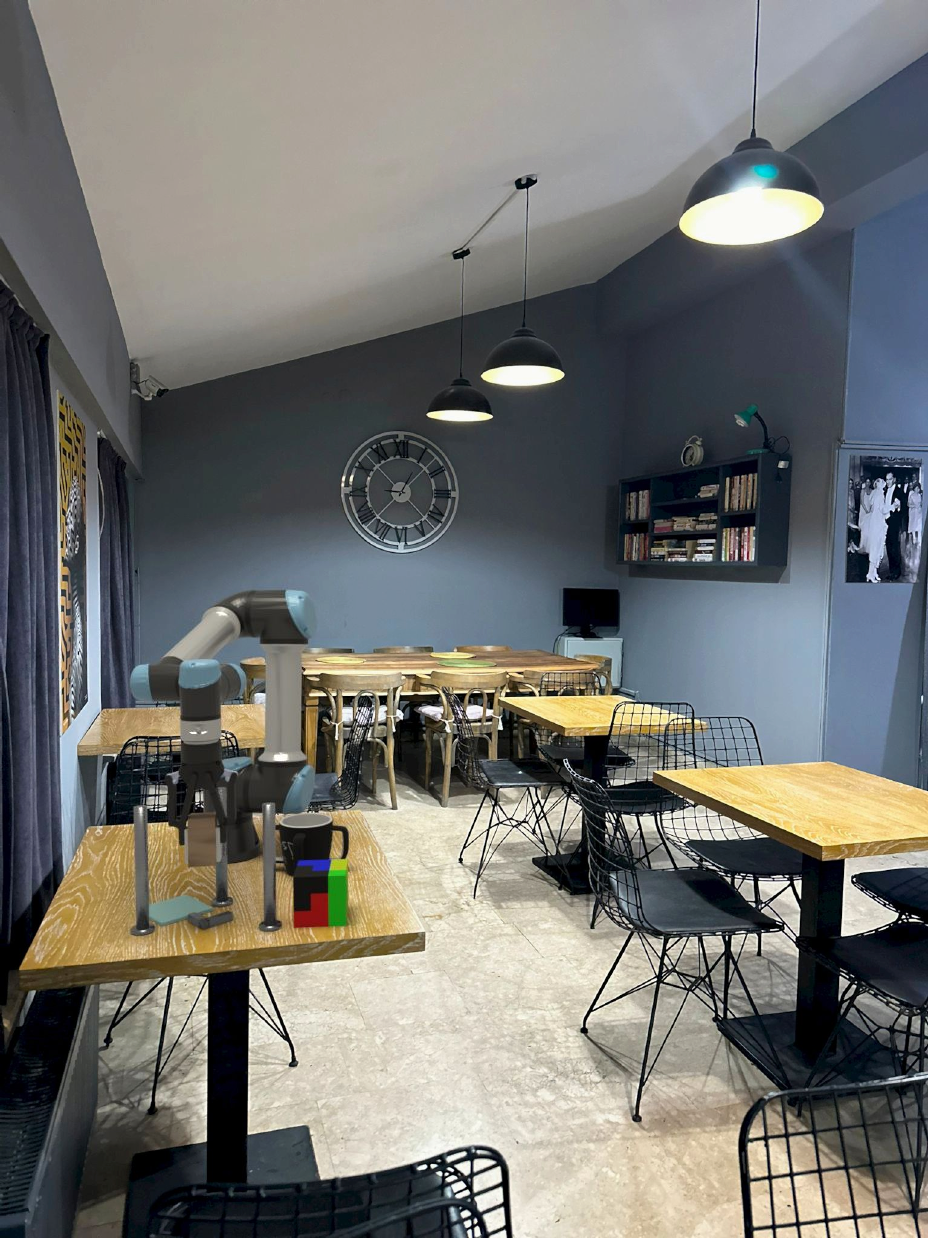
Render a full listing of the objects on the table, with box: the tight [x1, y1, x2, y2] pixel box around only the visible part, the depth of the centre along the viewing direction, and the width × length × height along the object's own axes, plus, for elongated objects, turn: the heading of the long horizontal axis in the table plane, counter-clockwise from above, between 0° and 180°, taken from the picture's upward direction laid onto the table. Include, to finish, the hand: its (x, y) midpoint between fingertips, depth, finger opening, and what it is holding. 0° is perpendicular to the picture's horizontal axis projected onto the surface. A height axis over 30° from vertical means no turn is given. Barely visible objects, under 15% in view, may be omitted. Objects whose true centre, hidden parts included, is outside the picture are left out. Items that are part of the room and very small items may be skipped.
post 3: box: [258, 803, 283, 933], centre depth 167 cm, size 4×4×24 cm
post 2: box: [210, 787, 234, 908], centre depth 180 cm, size 4×4×24 cm
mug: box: [275, 812, 350, 876], centre depth 200 cm, size 16×16×12 cm
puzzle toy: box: [292, 858, 350, 929], centre depth 172 cm, size 10×10×10 cm
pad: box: [149, 894, 214, 927], centre depth 176 cm, size 11×11×1 cm
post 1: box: [130, 804, 156, 937], centre depth 165 cm, size 4×4×24 cm
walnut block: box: [186, 812, 218, 868], centre depth 167 cm, size 5×5×9 cm
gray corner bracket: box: [187, 910, 234, 930], centre depth 171 cm, size 6×6×2 cm
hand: (203, 860), depth 167 cm, fingers closed on walnut block, 5 cm apart
